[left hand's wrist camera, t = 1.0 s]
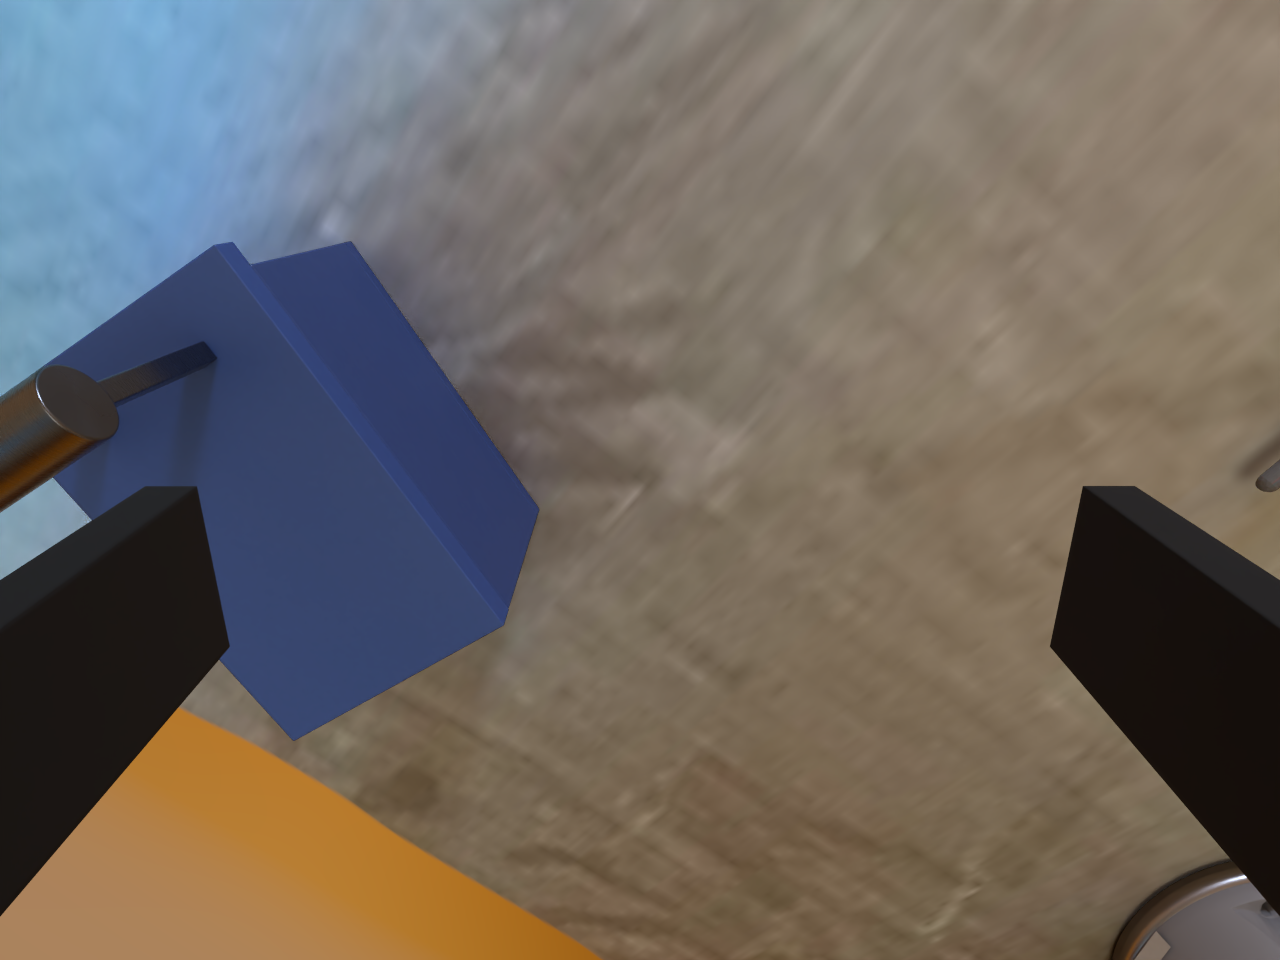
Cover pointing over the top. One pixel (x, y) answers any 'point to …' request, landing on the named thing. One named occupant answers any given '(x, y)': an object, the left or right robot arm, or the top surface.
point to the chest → (408, 404)
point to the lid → (256, 488)
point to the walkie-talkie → (1270, 479)
